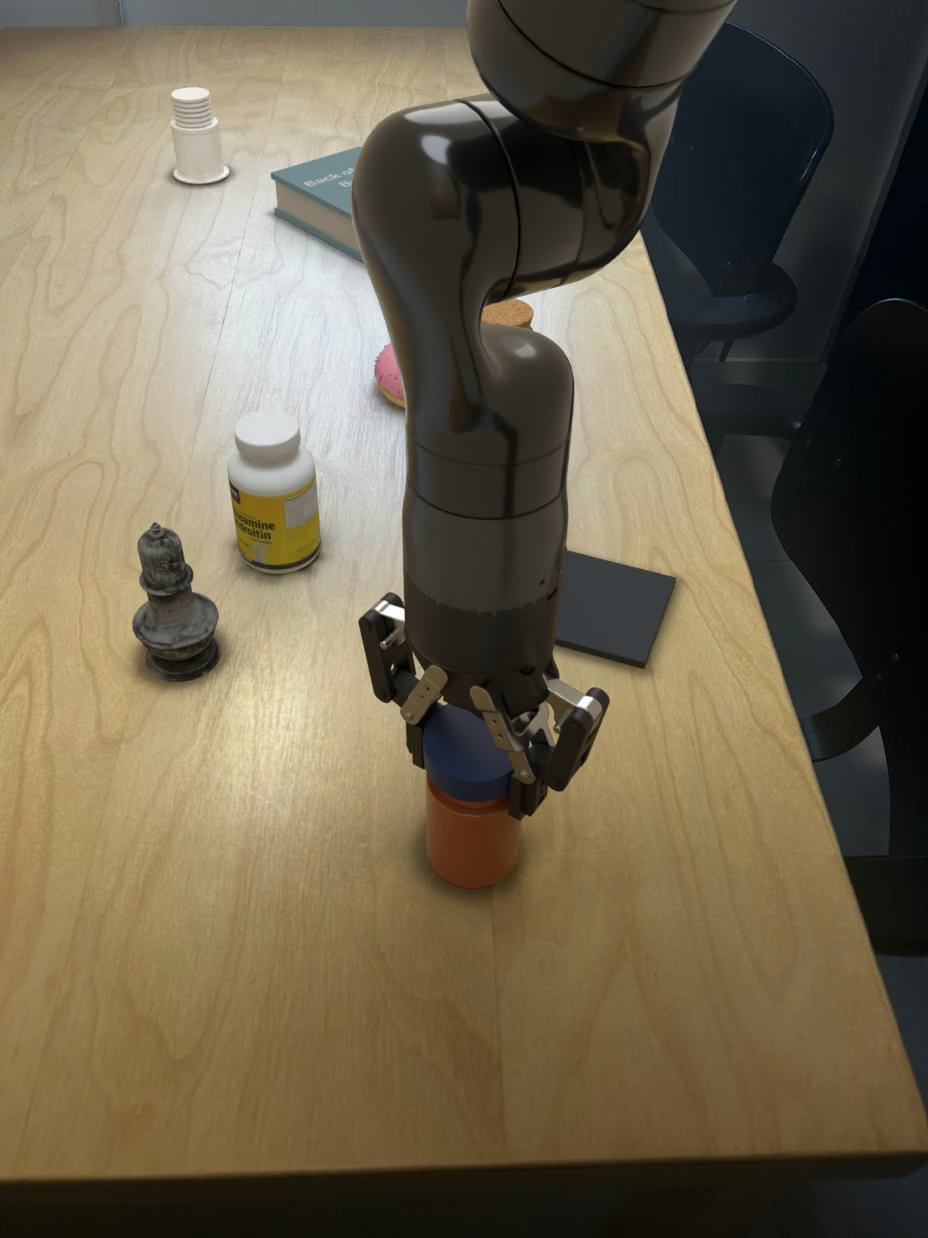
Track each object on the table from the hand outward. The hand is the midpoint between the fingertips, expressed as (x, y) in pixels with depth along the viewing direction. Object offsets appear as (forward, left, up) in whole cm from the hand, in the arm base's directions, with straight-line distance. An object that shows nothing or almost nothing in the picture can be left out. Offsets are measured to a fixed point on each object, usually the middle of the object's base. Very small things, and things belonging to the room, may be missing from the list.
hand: (475, 782), depth 62 cm
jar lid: (0, 0, +3) cm, 3 cm away
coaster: (-1, -24, -7) cm, 25 cm away
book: (+41, -80, -7) cm, 90 cm away
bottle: (+12, -38, -7) cm, 41 cm away
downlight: (+69, -85, -7) cm, 110 cm away
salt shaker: (+25, -8, -7) cm, 27 cm away
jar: (0, 0, -7) cm, 7 cm away
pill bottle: (+24, -21, -7) cm, 33 cm away
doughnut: (+22, -48, -7) cm, 53 cm away
